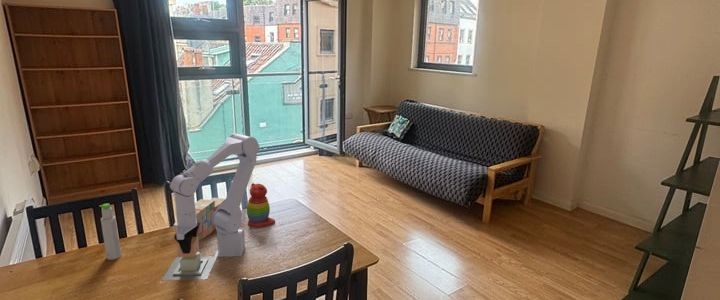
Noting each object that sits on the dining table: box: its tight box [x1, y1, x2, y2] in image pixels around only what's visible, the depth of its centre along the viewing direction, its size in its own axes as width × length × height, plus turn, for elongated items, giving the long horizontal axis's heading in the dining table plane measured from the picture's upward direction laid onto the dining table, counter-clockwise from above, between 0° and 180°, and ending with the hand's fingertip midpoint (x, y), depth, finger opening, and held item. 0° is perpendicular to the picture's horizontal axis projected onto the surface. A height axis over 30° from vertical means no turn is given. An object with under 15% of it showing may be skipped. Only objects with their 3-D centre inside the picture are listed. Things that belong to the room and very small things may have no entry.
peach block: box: [177, 237, 200, 257], centre depth 135 cm, size 5×5×4 cm
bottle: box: [99, 203, 122, 261], centre depth 140 cm, size 4×4×20 cm
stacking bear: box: [246, 182, 276, 229], centre depth 169 cm, size 11×10×18 cm
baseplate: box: [161, 255, 218, 281], centre depth 137 cm, size 14×14×1 cm
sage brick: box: [180, 251, 201, 272], centre depth 137 cm, size 5×5×4 cm
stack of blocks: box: [195, 197, 226, 241], centre depth 164 cm, size 21×6×12 cm, turn 168°
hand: (189, 248), depth 135 cm, fingers closed on peach block, 5 cm apart
